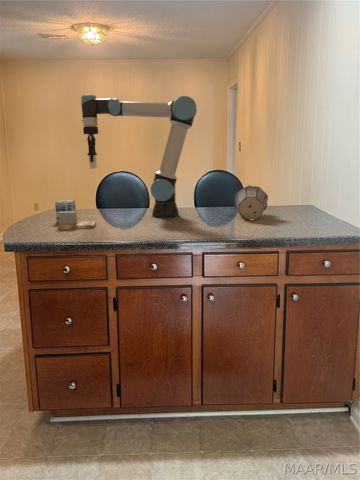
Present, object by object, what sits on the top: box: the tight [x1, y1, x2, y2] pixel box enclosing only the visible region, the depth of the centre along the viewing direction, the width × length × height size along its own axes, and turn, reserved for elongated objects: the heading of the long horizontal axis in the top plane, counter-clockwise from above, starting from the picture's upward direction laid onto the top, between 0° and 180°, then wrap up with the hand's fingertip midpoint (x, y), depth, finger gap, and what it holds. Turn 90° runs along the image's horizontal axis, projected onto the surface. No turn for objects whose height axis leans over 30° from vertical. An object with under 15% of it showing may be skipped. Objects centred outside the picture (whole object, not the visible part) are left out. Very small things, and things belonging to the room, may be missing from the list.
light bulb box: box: [54, 199, 77, 223], centre depth 220 cm, size 11×7×11 cm, turn 168°
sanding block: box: [58, 210, 78, 226], centre depth 203 cm, size 8×5×6 cm, turn 97°
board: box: [57, 220, 97, 230], centre depth 205 cm, size 17×11×2 cm, turn 97°
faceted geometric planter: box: [234, 184, 269, 220], centre depth 229 cm, size 18×18×30 cm
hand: (93, 167), depth 218 cm, fingers open, 13 cm apart
